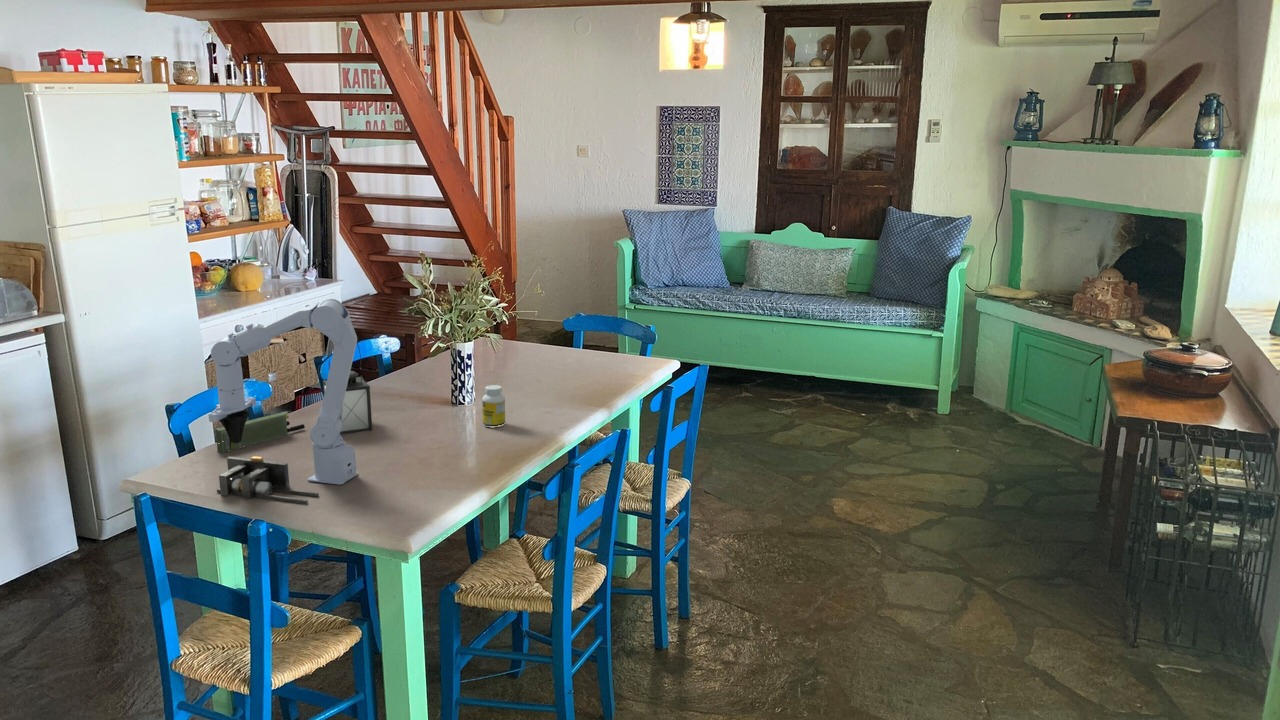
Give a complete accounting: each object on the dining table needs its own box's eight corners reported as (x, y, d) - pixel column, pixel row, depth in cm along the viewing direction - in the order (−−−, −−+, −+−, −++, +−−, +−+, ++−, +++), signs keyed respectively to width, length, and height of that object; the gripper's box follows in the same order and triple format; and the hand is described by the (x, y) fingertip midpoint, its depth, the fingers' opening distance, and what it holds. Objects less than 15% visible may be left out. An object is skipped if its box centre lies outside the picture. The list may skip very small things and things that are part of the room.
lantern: (372, 430, 269) (367, 334, 262) (332, 436, 264) (325, 338, 257) (364, 420, 278) (359, 327, 271) (325, 424, 273) (319, 330, 267)
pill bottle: (480, 423, 276) (478, 385, 273) (501, 420, 279) (500, 383, 276) (487, 430, 270) (486, 391, 267) (508, 427, 273) (507, 388, 270)
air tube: (274, 486, 223) (267, 479, 221) (268, 498, 221) (261, 491, 219) (230, 481, 226) (224, 474, 224) (224, 492, 224) (217, 485, 222)
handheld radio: (215, 451, 251) (300, 428, 270) (222, 454, 249) (307, 431, 268) (213, 427, 249) (299, 406, 268) (220, 430, 247) (305, 409, 266)
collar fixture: (326, 491, 224) (324, 464, 223) (303, 506, 216) (300, 478, 214) (232, 479, 231) (230, 453, 229) (206, 493, 222) (203, 466, 220)
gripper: (236, 378, 232) (241, 431, 236) (195, 394, 219) (201, 449, 222) (261, 381, 231) (265, 433, 234) (221, 397, 217) (226, 452, 220)
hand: (236, 442), depth 228 cm, fingers closed
